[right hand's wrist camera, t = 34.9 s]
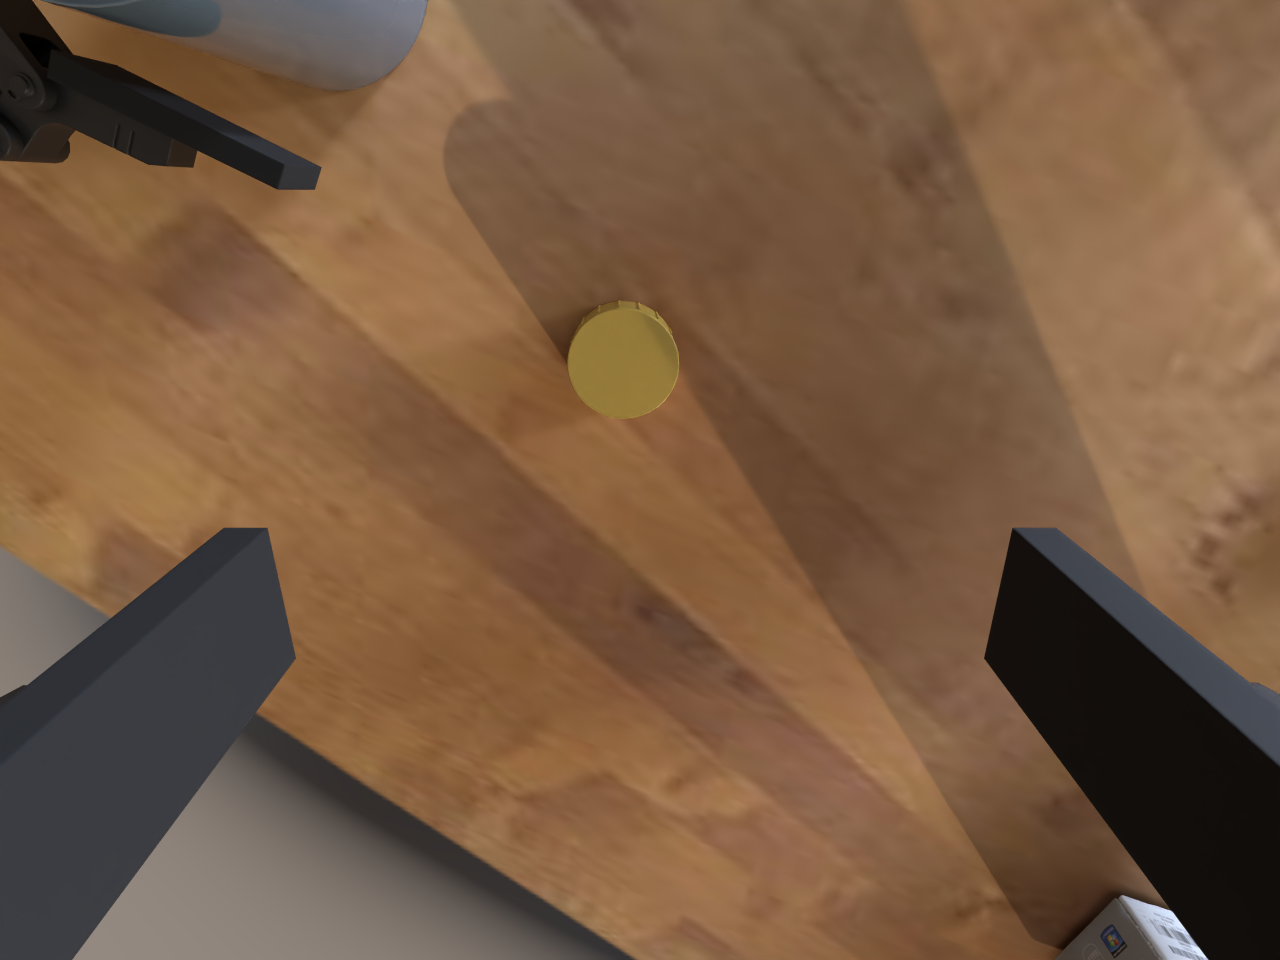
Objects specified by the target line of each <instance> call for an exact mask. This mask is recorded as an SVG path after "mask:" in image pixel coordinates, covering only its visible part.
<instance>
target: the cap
mask: <svg viewBox="0 0 1280 960" xmlns="http://www.w3.org/2000/svg"><path fill="white" fill-rule="evenodd" d="M672 335H673V334H672V331H671V328H670V326H667V324H666V323H665V321H664V320H663V319H662V318H661V317H660V316H659V315H658V312H657V311H653V310H652V309H650V308H648V307H647V306H644V305H642V304H640V302H638V303H636V302H631V301H620V300H618V301H616V302H610V303H607V304H604V305H602V306H600V305H599V306H598V308H596V309H594V310H593V311H591V312H590V313H589V314H588V315H587V316H586V317H583V318H582V321H581V323H580V324H579V326H578V328H577V330H576V331H575V334H573V335H572V338H571V341H570V343H571V345H570V348H569V353H568V359H567V366H568V374H569V378H570V381H571V384H572V386H573V388H574V390H575V392H576V393H577V395H578V396H579V398H580V399H581V400H582V401H583V402H584V403H585V404H586V405H587V406H588V407H590V408H591V409H593V410H594V411H596V412H598V413H600V414H602V415H605V416H608V417H612V418H619V419H628V418H635V417H639V416H642V415H645V414H647V413H649V412H651V411H653V410H654V409H656V408H657V407H658V406H660V405H661V404H662V403H663V402H664V401H665V400H666V398H667V397H668V396H669V394H670V393H671V391H672V389H673V388H674V385H675V383H676V380H677V376H678V370H679V358H678V354H679V351H678V348H677V345H675V342H674V339H673V336H672Z"/></svg>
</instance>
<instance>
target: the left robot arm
mask: <svg viewBox="0 0 1280 960" xmlns="http://www.w3.org/2000/svg"><path fill="white" fill-rule="evenodd" d="M75 130H77V131H79V132H81V133H83V134H85V135H87V136H89V137H91V138H94V139H96V140H98V141H100V142H102V143H104V144H106V145H108V146H110V147H112V148H115V149H117V150H119V151H121V152H123V153H125V154H128V155H130V156H131V157H133V158H135V159H138V160H140V161H142V162H144V163H146V164H148V165H159V166H173V167H192V168H193V166H194V162H195V158H196V154H197V150H198V151H200V152H202V153H204V154H206V155H208V156H210V157H212V158H214V159H216V160H218V161H220V162H222V163H224V164H226V165H228V166H230V167H233V168H235V169H237V170H239V171H241V172H243V173H245V174H247V175H249V176H251V177H253V178H255V179H257V180H259V181H261V182H263V183H265V184H267V185H270V186H272V187H274V188H276V189H278V190H315V187H316V184H317V181H318V177H319V174H320V171H321V167H320V166H318V165H316V164H314V163H312V162H310V161H308V160H306V159H304V158H302V157H300V156H298V155H296V154H294V153H292V152H290V151H288V150H286V149H284V148H282V147H280V146H278V145H276V144H273V143H271V142H269V141H267V140H265V139H263V138H261V137H259V136H257V135H255V134H253V133H251V132H249V131H247V130H245V129H243V128H241V127H239V126H237V125H235V124H233V123H231V122H229V121H227V120H225V119H223V118H221V117H219V116H217V115H215V114H213V113H211V112H209V111H207V110H205V109H203V108H201V107H199V106H197V105H195V104H193V103H191V102H189V101H187V100H185V99H183V98H181V97H179V96H177V95H175V94H173V93H171V92H169V91H167V90H165V89H163V88H161V87H159V86H157V85H155V84H153V83H151V82H149V81H147V80H145V79H143V78H141V77H139V76H137V75H135V74H133V73H131V72H129V71H127V70H125V69H123V68H121V67H119V66H117V65H113V64H109V63H105V62H101V61H97V60H93V59H89V58H85V57H81V56H77V55H73V54H72V53H71V51H70V50H69V49H68V47H67V46H66V45H65V43H64V42H63V41H62V39H61V38H60V37H59V35H58V34H57V33H56V31H55V30H54V29H53V27H52V26H51V25H50V23H49V22H48V21H47V19H46V18H45V17H44V16H43V14H42V13H41V12H40V10H39V9H38V8H37V6H36V5H35V4H34V2H33V1H32V0H0V161H19V162H40V163H60V162H63V161H64V160H65V159H67V158H68V155H69V153H70V143H69V141H68V139H69V138H70V136H71V135H72V134H73V133H74V131H75Z"/></svg>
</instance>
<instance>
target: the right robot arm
mask: <svg viewBox="0 0 1280 960" xmlns="http://www.w3.org/2000/svg"><path fill="white" fill-rule="evenodd" d="M295 659H296V657H295V652H294V648H293V643H292V639H291V634H290V629H289V625H288V620H287V616H286V611H285V606H284V602H283V597H282V593H281V588H280V583H279V579H278V574H277V570H276V565H275V560H274V556H273V551H272V547H271V542H270V538H269V533H268V528H223V529H222V530H221V531H219V532H218V533H217V534H216V535H214V536H213V537H212V538H211V539H209V540H208V541H207V542H206V543H204V544H203V545H202V546H201V547H199V548H198V549H197V550H196V551H194V552H193V553H192V554H191V555H189V556H188V557H187V558H186V559H184V560H183V561H182V562H181V563H179V564H178V565H177V566H176V567H174V568H173V569H172V570H171V571H169V572H168V573H167V574H166V575H164V576H163V577H162V578H161V579H159V580H158V581H157V582H156V583H154V584H153V585H152V586H151V587H149V588H148V589H147V590H146V591H144V592H143V593H142V594H141V595H139V596H138V597H137V598H136V599H134V600H133V601H132V602H131V603H129V604H128V605H127V606H126V607H124V608H123V609H122V610H121V611H119V612H118V613H117V614H116V615H114V616H113V617H112V618H111V619H109V620H108V621H107V622H106V623H105V624H103V625H102V626H101V627H99V628H98V629H97V630H96V631H95V632H93V633H92V634H91V635H89V636H88V637H87V638H86V639H84V640H83V641H82V642H81V643H79V644H78V645H77V646H76V647H75V648H73V649H72V650H71V651H70V652H68V653H67V654H66V655H65V656H63V657H62V658H61V659H60V660H58V661H57V662H56V663H55V664H53V665H52V666H51V667H50V668H48V669H47V670H46V671H45V672H43V673H42V674H41V675H40V676H38V677H37V678H36V679H35V680H33V681H32V682H31V683H30V684H28V685H23V686H21V687H19V688H17V689H15V690H13V691H12V692H10V693H8V694H6V695H4V696H2V697H0V960H72V959H73V958H74V956H75V955H76V954H77V952H78V951H79V950H80V948H81V947H82V946H83V944H84V943H85V942H86V940H87V939H88V938H89V936H90V935H91V933H92V932H93V931H94V930H95V928H96V927H97V925H98V924H99V923H100V921H101V920H102V919H103V917H104V916H105V915H106V913H107V912H108V911H109V909H110V908H111V907H112V905H113V904H114V903H115V901H116V900H117V898H118V897H119V896H120V894H121V893H122V892H123V890H124V889H125V888H126V886H127V885H128V884H129V882H130V881H131V880H132V878H133V877H134V876H135V874H136V873H137V872H138V870H139V869H140V867H141V866H142V865H143V864H144V862H145V861H146V859H147V858H148V857H149V855H150V854H151V853H152V851H153V850H154V849H155V847H156V846H157V845H158V843H159V842H160V841H161V839H162V838H163V837H164V835H165V834H166V833H167V831H168V830H169V828H170V827H171V826H172V824H173V823H174V822H175V820H176V819H177V818H178V816H179V815H180V814H181V812H182V811H183V810H184V808H185V807H186V806H187V804H188V803H189V802H190V800H191V799H192V798H193V796H194V795H195V793H196V792H197V791H198V789H199V788H200V787H201V785H202V784H203V783H204V781H205V780H206V779H207V777H208V776H209V775H210V773H211V772H212V771H213V769H214V768H215V767H216V765H217V764H218V762H219V761H220V760H221V758H222V757H223V756H224V754H225V753H226V752H227V750H228V749H229V748H230V746H231V745H232V744H233V742H234V741H235V740H236V738H237V737H238V736H239V734H240V733H241V732H242V730H243V729H244V727H245V726H246V725H247V723H248V722H249V721H250V719H251V718H252V717H253V715H254V714H255V713H256V711H257V710H258V709H259V707H260V706H261V705H262V703H263V702H264V701H265V699H266V698H267V696H268V695H269V694H270V692H271V691H272V690H273V688H274V687H275V686H276V684H277V683H278V682H279V680H280V679H281V678H282V676H283V675H284V674H285V672H286V671H287V670H288V668H289V667H290V666H291V664H292V663H293V661H294V660H295ZM984 659H985V660H986V661H987V663H988V664H989V666H990V667H991V668H992V670H993V671H994V672H995V674H996V675H997V676H998V678H999V679H1000V680H1001V682H1002V683H1003V684H1004V686H1005V687H1006V688H1007V690H1008V691H1009V692H1010V694H1011V695H1012V696H1013V698H1014V699H1015V701H1016V702H1017V703H1018V705H1019V706H1020V707H1021V709H1022V710H1023V711H1024V713H1025V714H1026V715H1027V717H1028V718H1029V719H1030V721H1031V722H1032V723H1033V725H1034V726H1035V727H1036V729H1037V730H1038V732H1039V733H1040V734H1041V736H1042V737H1043V738H1044V740H1045V741H1046V742H1047V744H1048V745H1049V746H1050V748H1051V749H1052V750H1053V752H1054V753H1055V754H1056V756H1057V757H1058V758H1059V760H1060V761H1061V762H1062V764H1063V765H1064V767H1065V768H1066V769H1067V771H1068V772H1069V773H1070V775H1071V776H1072V777H1073V779H1074V780H1075V781H1076V783H1077V784H1078V785H1079V787H1080V788H1081V789H1082V791H1083V792H1084V793H1085V795H1086V796H1087V798H1088V799H1089V800H1090V802H1091V803H1092V804H1093V806H1094V807H1095V808H1096V810H1097V811H1098V812H1099V814H1100V815H1101V816H1102V818H1103V819H1104V820H1105V822H1106V823H1107V824H1108V826H1109V827H1110V828H1111V830H1112V831H1113V833H1114V834H1115V835H1116V837H1117V838H1118V839H1119V841H1120V842H1121V843H1122V845H1123V846H1124V847H1125V849H1126V850H1127V851H1128V853H1129V854H1130V855H1131V857H1132V858H1133V859H1134V861H1135V862H1136V864H1137V865H1138V866H1139V868H1140V869H1141V870H1142V872H1143V873H1144V874H1145V876H1146V877H1147V878H1148V880H1149V881H1150V882H1151V884H1152V885H1153V886H1154V888H1155V889H1156V890H1157V892H1158V893H1159V894H1160V896H1161V897H1162V899H1163V900H1164V901H1165V903H1166V904H1167V905H1168V907H1169V908H1170V909H1171V911H1172V912H1173V913H1174V915H1175V916H1176V917H1177V919H1178V920H1179V921H1180V923H1181V924H1182V925H1183V927H1184V928H1185V930H1186V931H1187V932H1188V934H1189V935H1190V936H1191V938H1192V939H1193V940H1194V942H1195V943H1196V944H1197V946H1198V947H1199V948H1200V950H1201V951H1202V952H1203V954H1204V955H1205V956H1206V958H1207V959H1208V960H1280V694H1278V693H1276V692H1274V691H1272V690H1270V689H1269V688H1267V687H1265V686H1263V685H1261V684H1259V683H1249V682H1248V681H1247V680H1245V679H1244V678H1243V677H1242V676H1240V675H1239V674H1238V673H1237V672H1235V671H1234V670H1233V669H1232V668H1230V667H1229V666H1228V665H1227V664H1225V663H1224V662H1223V661H1222V660H1220V659H1219V658H1218V657H1217V656H1215V655H1214V654H1213V653H1212V652H1210V651H1209V650H1208V649H1207V648H1205V647H1204V646H1203V645H1202V644H1201V643H1199V642H1198V641H1197V640H1196V639H1194V638H1193V637H1192V636H1191V635H1189V634H1188V633H1187V632H1186V631H1184V630H1183V629H1182V628H1181V627H1179V626H1178V625H1177V624H1176V623H1174V622H1173V621H1172V620H1171V619H1169V618H1168V617H1167V616H1166V615H1164V614H1163V613H1162V612H1161V611H1159V610H1158V609H1157V608H1156V607H1154V606H1153V605H1152V604H1151V603H1149V602H1148V601H1147V600H1146V599H1144V598H1143V597H1142V596H1141V595H1139V594H1138V593H1137V592H1136V591H1134V590H1133V589H1132V588H1131V587H1129V586H1128V585H1127V584H1126V583H1124V582H1123V581H1122V580H1121V579H1119V578H1118V577H1117V576H1116V575H1114V574H1113V573H1112V572H1111V571H1109V570H1108V569H1107V568H1106V567H1104V566H1103V565H1102V564H1101V563H1099V562H1098V561H1097V560H1096V559H1094V558H1093V557H1092V556H1091V555H1089V554H1088V553H1087V552H1086V551H1084V550H1083V549H1082V548H1081V547H1079V546H1078V545H1077V544H1076V543H1074V542H1073V541H1072V540H1071V539H1069V538H1068V537H1067V536H1066V535H1064V534H1063V533H1062V532H1061V531H1059V530H1058V529H1057V528H1012V533H1011V538H1010V542H1009V547H1008V551H1007V556H1006V561H1005V565H1004V570H1003V574H1002V579H1001V583H1000V588H999V593H998V597H997V602H996V606H995V611H994V616H993V620H992V625H991V629H990V634H989V639H988V643H987V648H986V652H985V657H984Z"/></svg>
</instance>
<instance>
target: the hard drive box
mask: <svg viewBox="0 0 1280 960" xmlns="http://www.w3.org/2000/svg"><path fill="white" fill-rule="evenodd" d="M1054 960H1208V959H1207V958H1206V956H1205V955H1204V954H1203V952H1202V951H1201V950H1200V948H1199V947H1198V946H1197V944H1196V943H1195V942H1194V940H1193V939H1192V938H1191V936H1190V935H1189V934H1188V932H1187V931H1186V930H1185V928H1184V927H1183V925H1182V924H1181V923H1180V921H1179V920H1178V919H1177V917H1176V916H1175V915H1174V913H1173V912H1172V911H1170V910H1166V909H1163V908H1161V907H1158V906H1155V905H1150V904H1147V903H1144V902H1141V901H1138V900H1135V899H1132V898H1130V897H1127V896H1124V895H1121V896H1120V897H1119V898H1118V899H1116V898H1114V899H1113V900H1112V901H1111V903H1110V904H1109V905H1108V906H1107V907H1106V908H1105V909H1104V910H1103V911H1102V912H1101V913H1100V914H1099V915H1098V916H1097V917H1096V918H1095V919H1094V920H1093V921H1092V922H1091V923H1090V924H1089V925H1088V926H1087V927H1086V928H1085V929H1084V930H1083V931H1082V932H1081V933H1080V934H1079V935H1078V936H1077V937H1076V938H1075V939H1074V940H1073V941H1072V942H1071V943H1070V944H1069V945H1068V946H1067V947H1066V948H1065V949H1064V950H1063V951H1062V952H1061V953H1060V954H1059V955H1058V956H1057V957H1056V958H1055V959H1054Z"/></svg>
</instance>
